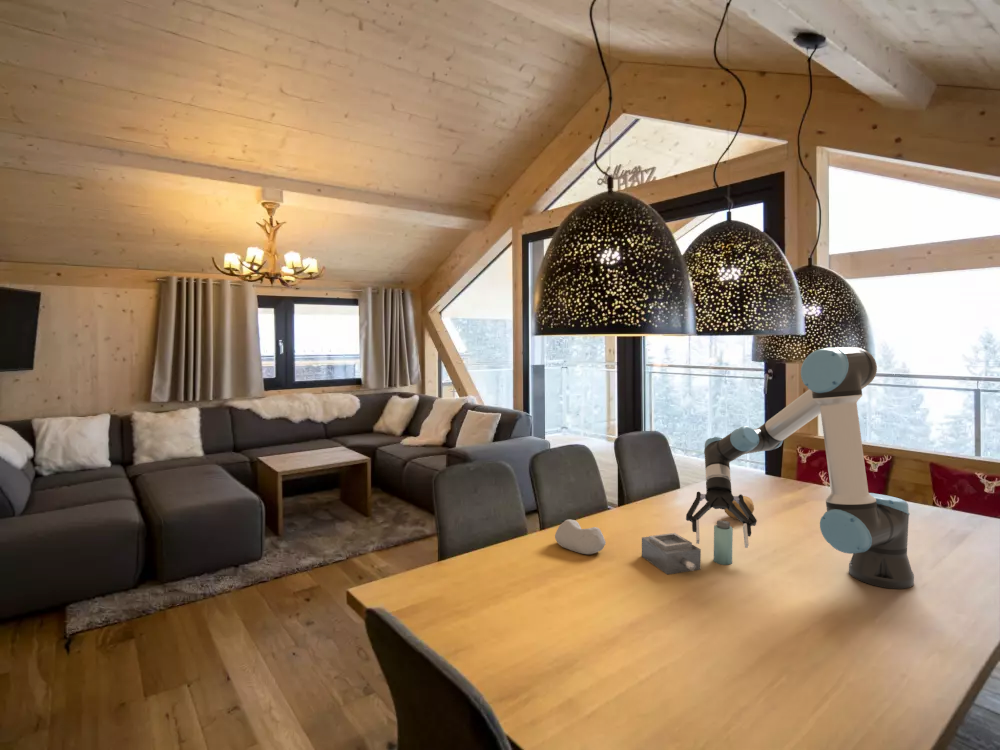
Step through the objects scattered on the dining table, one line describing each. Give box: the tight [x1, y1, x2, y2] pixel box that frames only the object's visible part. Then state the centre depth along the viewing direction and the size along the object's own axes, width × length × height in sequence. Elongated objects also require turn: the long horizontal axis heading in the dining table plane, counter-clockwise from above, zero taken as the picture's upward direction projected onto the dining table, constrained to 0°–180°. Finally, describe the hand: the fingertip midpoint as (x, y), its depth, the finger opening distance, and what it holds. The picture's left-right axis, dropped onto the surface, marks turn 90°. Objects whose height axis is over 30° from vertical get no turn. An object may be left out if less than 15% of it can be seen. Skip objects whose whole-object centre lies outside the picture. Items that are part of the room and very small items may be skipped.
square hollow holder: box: [641, 532, 702, 575], centre depth 170 cm, size 20×11×7 cm, turn 16°
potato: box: [723, 495, 755, 520], centre depth 211 cm, size 10×14×8 cm
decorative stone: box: [554, 519, 606, 555], centre depth 183 cm, size 17×10×10 cm
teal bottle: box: [713, 520, 734, 566], centre depth 171 cm, size 5×5×12 cm
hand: (722, 543), depth 171 cm, fingers open, 13 cm apart
